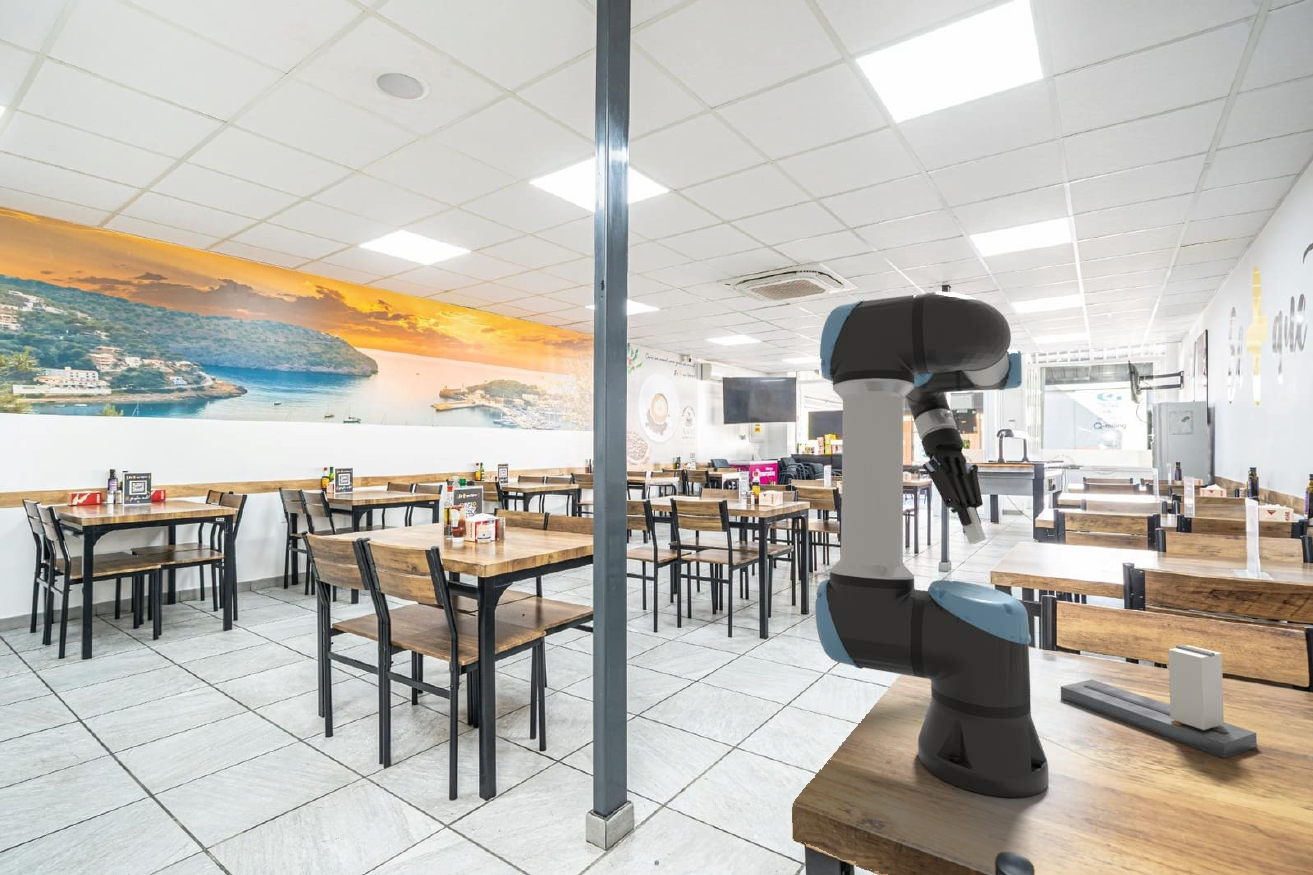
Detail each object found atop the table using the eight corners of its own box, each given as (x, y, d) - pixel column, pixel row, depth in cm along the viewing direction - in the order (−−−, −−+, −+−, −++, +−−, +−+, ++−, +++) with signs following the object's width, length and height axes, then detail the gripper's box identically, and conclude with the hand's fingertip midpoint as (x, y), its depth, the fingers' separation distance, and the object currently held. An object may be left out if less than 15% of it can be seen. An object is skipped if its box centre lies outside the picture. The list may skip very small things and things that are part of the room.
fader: (1170, 718, 89) (1168, 647, 90) (1190, 712, 91) (1188, 643, 92) (1204, 730, 86) (1202, 655, 86) (1224, 724, 87) (1222, 651, 88)
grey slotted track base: (1060, 698, 102) (1060, 685, 102) (1091, 691, 106) (1091, 678, 106) (1224, 758, 82) (1224, 742, 82) (1256, 747, 85) (1256, 731, 85)
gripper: (928, 422, 124) (967, 532, 112) (975, 429, 129) (1018, 536, 117) (902, 440, 130) (937, 546, 118) (949, 446, 135) (987, 549, 123)
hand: (977, 541), depth 118 cm, fingers closed
